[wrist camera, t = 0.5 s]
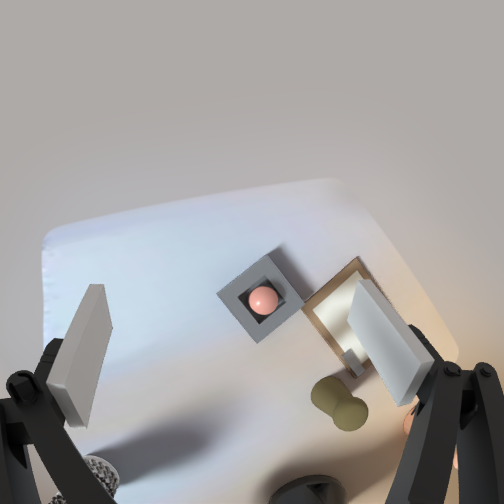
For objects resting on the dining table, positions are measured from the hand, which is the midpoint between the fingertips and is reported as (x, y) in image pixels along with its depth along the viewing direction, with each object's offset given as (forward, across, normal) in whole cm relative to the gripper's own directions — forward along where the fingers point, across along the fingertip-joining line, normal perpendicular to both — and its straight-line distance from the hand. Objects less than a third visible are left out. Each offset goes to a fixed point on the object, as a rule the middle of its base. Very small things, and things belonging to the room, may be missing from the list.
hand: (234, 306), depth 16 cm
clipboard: (+24, -23, +21) cm, 39 cm away
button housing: (+27, -7, +18) cm, 33 cm away
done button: (+25, -7, +16) cm, 30 cm away
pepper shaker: (+18, -18, +32) cm, 41 cm away
